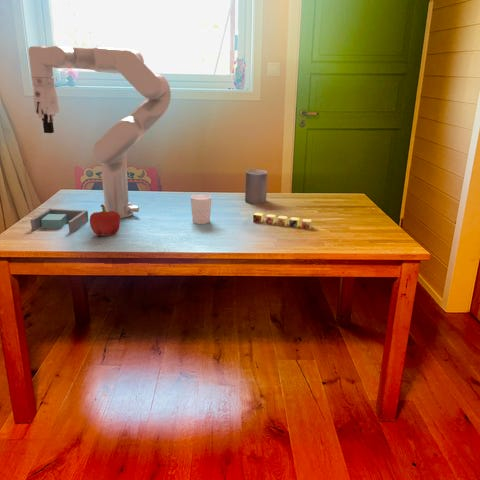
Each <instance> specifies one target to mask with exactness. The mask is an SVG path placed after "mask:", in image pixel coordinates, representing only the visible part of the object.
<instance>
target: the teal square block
mask: <svg viewBox="0 0 480 480" xmlns="http://www.w3.org/2000/svg"><path fill="white" fill-rule="evenodd" d="M41 223H42V226H41V227H42V228H41V229H62V228H63V227H64V226H65V225H67V223H68V220H67V214H47V215H46V216H45V217H44V218H43V219H41Z"/></svg>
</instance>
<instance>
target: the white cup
mask: <svg viewBox="0 0 480 480" xmlns="http://www.w3.org/2000/svg"><path fill="white" fill-rule="evenodd" d="M190 204H191V205H190V207H191V208H190V209H191V217H192V218H191V219H192V222H193V223H194V224H197V225H204V224H205V225H206V224H209V223H210V222H211V221H210V220H211V212H212V209H211V208H212V196H211V195H209V194H202V193H201V194H199V193H198V194H193V195H191V196H190Z"/></svg>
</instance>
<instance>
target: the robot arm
mask: <svg viewBox="0 0 480 480" xmlns="http://www.w3.org/2000/svg"><path fill="white" fill-rule="evenodd" d="M27 51H28V59H29V67H30V75H31V77H30V78H31V82H32V87H33V104H34V106H33V107H34V112H35V113H36V114H37V115H38V118H39V119H41V123H42V127H43V133H44V134H52V133H53V134H54V133H55V130H54V129H55V128H54V117H55V116H56V114H58V113H59V112H60V107H59V101H58V96H57V91H56V87H55V80H54V79H55V78H54V71H53V68H55V69H79V70H91V71H92V70H93V71H95V72H97V73H105V74H106V73H107V74H108V73H109V74H121V76H122V77H123V78H124V79H125V80H126V81H127V82H128V83H129V84H130V85H131V86H132V87H133V88H134V89H135V90H136V91H137V92H138V93H139V94H140V95H141V96H143V97H144V98H145V100H143V102H142V103H140V104H139V105H138V106H137V107H136V108H135V110H134V111H132V112H131V113H130V114H129V115H128V116H126V117H124V118H122V119H120V120H118V121H117V122H116V123H114V125H112V126H111V127H110V128H109V129H108V130H107V131H106V132H105V133H104V134H103V135H102V136H101V137H100V138H99V139H98V140H97V141H96V142H95V144H94V145H93V149H92V154H93V157H94V159H95V161H97V163H100V164H101V177H102V191H103V201H104V202H103V203H104V204H103V205H104V206H105V210H106V212H109V211H114V212H117V213H118V214H119V215H120V219H125V218H130V217H131V216H133V214H134V213H139V211H140V208H139V207H138V205H132V202H131V201H129V188H128V187H129V186H128V185H129V184H128V167H127V166H128V165H127V161H128V160H127V159H128V151H129V149H130V148H132V147H133V146H134V145H135V144H136V143H138V141H139V140H141V139H142V137H143V136H144V135H145V134H146V133H147V132H148V131H149V130H150V129H151V128H152V127H153V126H154V125H155V124H156V123H157V122H158V121H159V120H160V119H161V118H162V117H163V116H164V115H165V113H166V111H167V110H168V109H169V105H170V103H171V97H172V94H171V92H172V91H171V87H170V84H169V82H168V79H166V78H165V77H164V76H163V75H161V74H159V73H154V72H153V71H152V70H151V69H150V68H149V67H148V66H147V65H146V64H145V62H144V61H145V60H144V58H143V55H142V53H140V52H139V51H138V50H136V49H129V48H114V47H100V46H98V47H97V46H96V47H94V48H90V47H88V48H87V47H86V48H85V47H72V46H62V45H51V46H40V45H39V46H37V45H33V46H29V47H28V50H27Z"/></svg>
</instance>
